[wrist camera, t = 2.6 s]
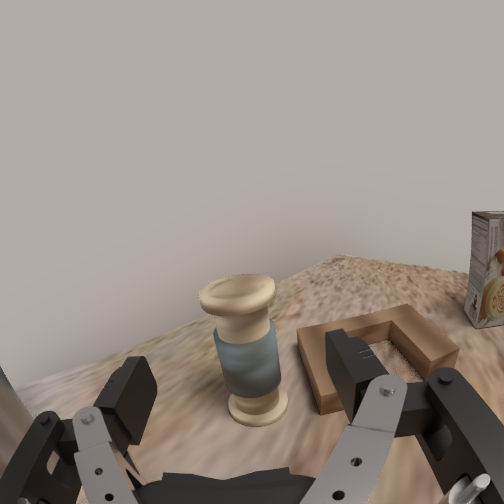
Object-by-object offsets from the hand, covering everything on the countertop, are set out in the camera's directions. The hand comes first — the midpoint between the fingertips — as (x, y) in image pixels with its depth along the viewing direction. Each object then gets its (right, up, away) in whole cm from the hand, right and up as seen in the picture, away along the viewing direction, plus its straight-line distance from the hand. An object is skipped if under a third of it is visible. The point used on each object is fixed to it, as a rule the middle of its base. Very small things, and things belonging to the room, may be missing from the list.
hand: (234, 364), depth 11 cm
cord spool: (+1, -11, +15) cm, 19 cm away
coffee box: (+38, -5, +18) cm, 42 cm away
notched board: (+16, -9, +18) cm, 25 cm away
